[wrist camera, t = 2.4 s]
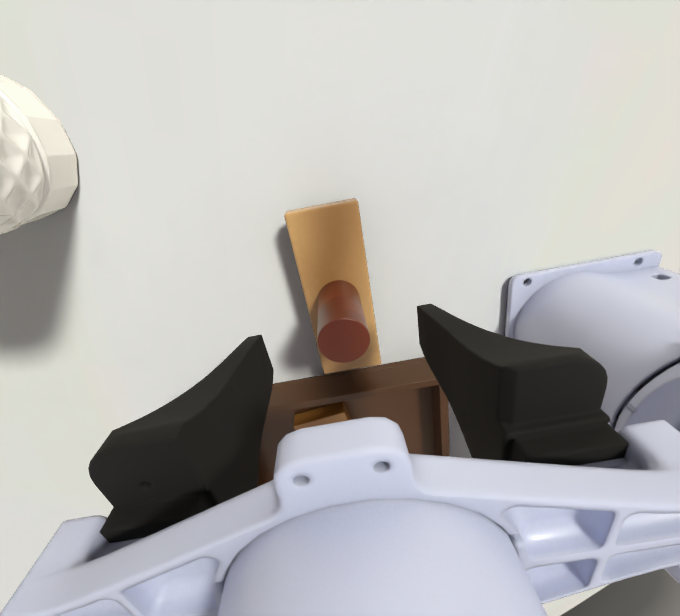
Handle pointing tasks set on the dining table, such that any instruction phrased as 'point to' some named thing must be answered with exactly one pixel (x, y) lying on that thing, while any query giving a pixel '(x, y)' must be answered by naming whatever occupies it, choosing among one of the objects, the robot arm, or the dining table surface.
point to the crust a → (322, 416)
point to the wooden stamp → (335, 283)
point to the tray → (364, 406)
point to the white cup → (32, 159)
